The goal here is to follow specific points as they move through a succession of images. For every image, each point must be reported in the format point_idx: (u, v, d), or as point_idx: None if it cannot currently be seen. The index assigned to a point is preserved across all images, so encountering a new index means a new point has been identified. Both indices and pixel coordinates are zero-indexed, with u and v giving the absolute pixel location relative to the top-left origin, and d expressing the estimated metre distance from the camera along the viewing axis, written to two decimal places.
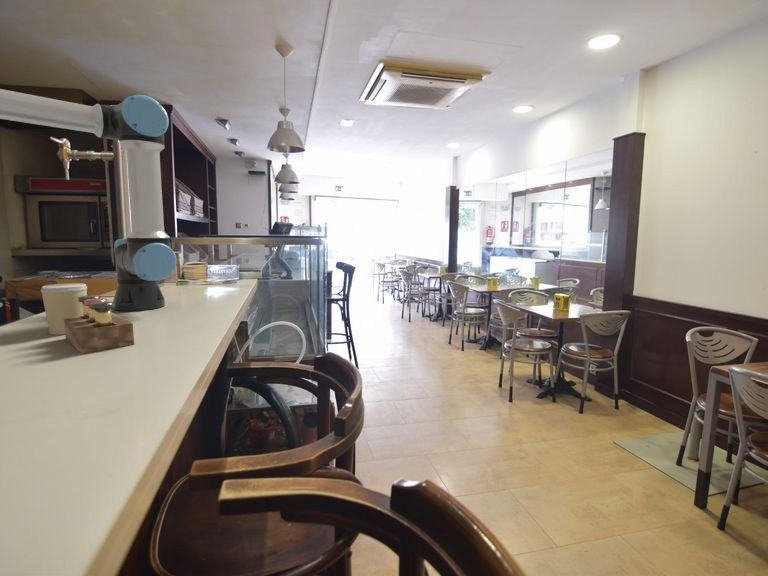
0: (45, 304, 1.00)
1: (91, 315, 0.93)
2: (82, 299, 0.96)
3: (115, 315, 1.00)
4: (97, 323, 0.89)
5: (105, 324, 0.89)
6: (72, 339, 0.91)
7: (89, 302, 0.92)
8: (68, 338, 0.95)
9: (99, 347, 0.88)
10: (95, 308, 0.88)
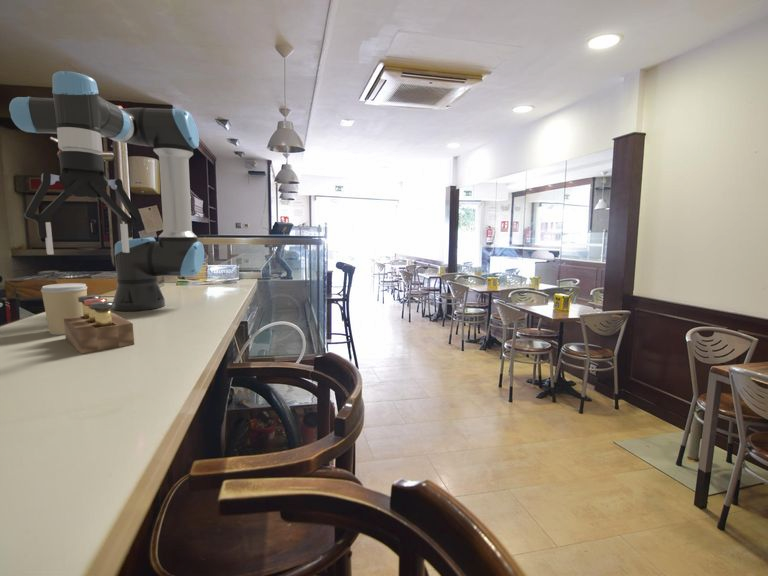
0: (45, 304, 1.00)
1: (91, 315, 0.93)
2: (82, 299, 0.96)
3: (115, 315, 1.00)
4: (97, 323, 0.89)
5: (105, 324, 0.89)
6: (72, 339, 0.91)
7: (89, 302, 0.92)
8: (68, 338, 0.95)
9: (99, 347, 0.88)
10: (95, 308, 0.88)
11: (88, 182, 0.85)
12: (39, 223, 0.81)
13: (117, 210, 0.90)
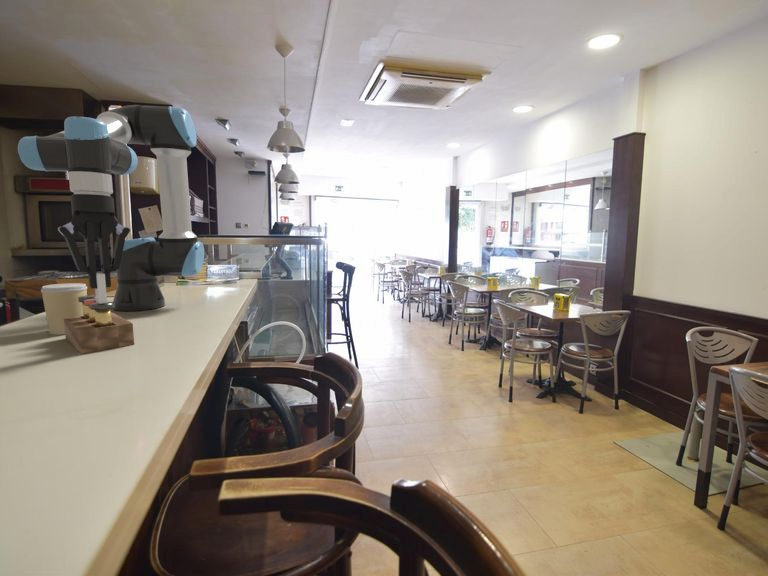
0: (45, 304, 1.00)
1: (91, 315, 0.93)
2: (82, 299, 0.96)
3: (115, 315, 1.00)
4: (97, 323, 0.89)
5: (105, 324, 0.89)
6: (72, 339, 0.91)
7: (89, 302, 0.92)
8: (68, 338, 0.95)
9: (99, 347, 0.88)
10: (95, 308, 0.88)
11: (101, 221, 0.87)
12: (90, 275, 0.87)
13: (104, 256, 0.88)
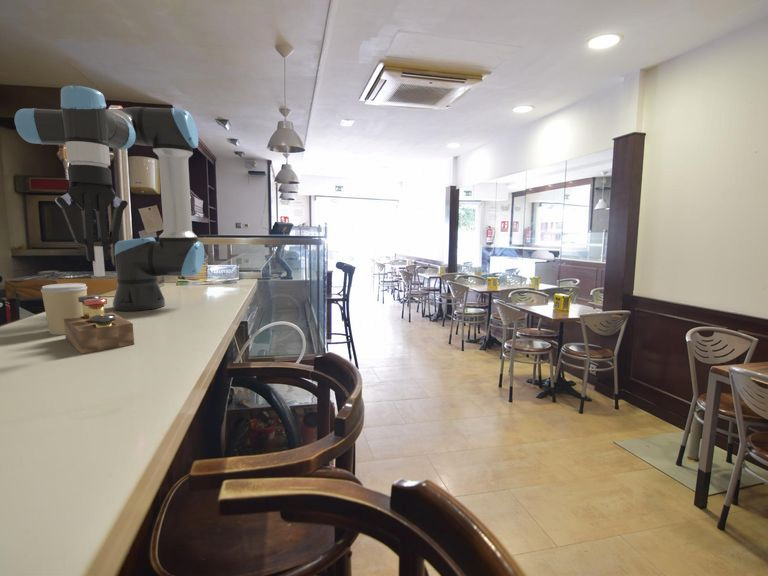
0: (45, 304, 1.00)
1: (91, 315, 0.93)
2: (82, 299, 0.96)
3: (115, 315, 1.00)
4: None
5: None
6: (72, 339, 0.91)
7: (89, 302, 0.92)
8: (68, 338, 0.95)
9: (99, 347, 0.88)
10: (96, 321, 0.88)
11: (98, 193, 0.86)
12: (88, 247, 0.86)
13: (102, 228, 0.87)
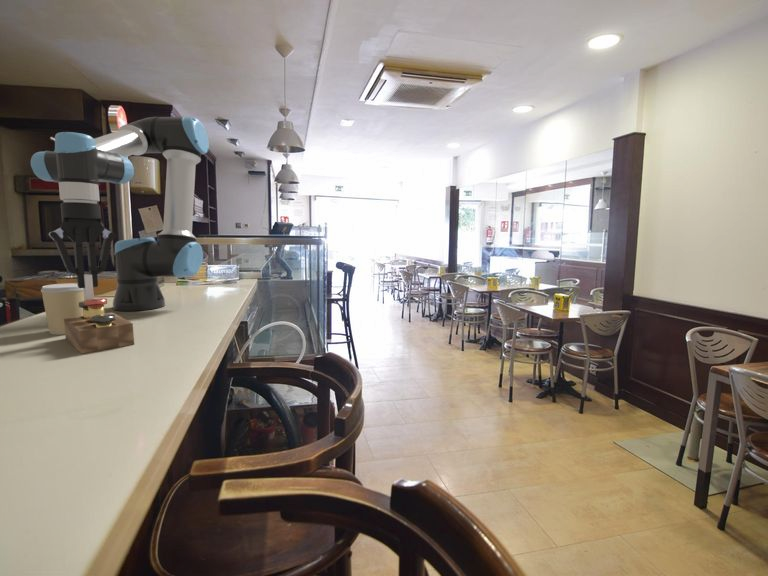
0: (45, 304, 1.00)
1: (91, 315, 0.93)
2: (83, 304, 0.96)
3: (115, 315, 1.00)
4: None
5: None
6: (72, 339, 0.91)
7: (89, 302, 0.92)
8: (68, 338, 0.95)
9: (99, 347, 0.88)
10: (96, 321, 0.88)
11: (88, 227, 0.95)
12: (79, 276, 0.95)
13: (91, 258, 0.96)
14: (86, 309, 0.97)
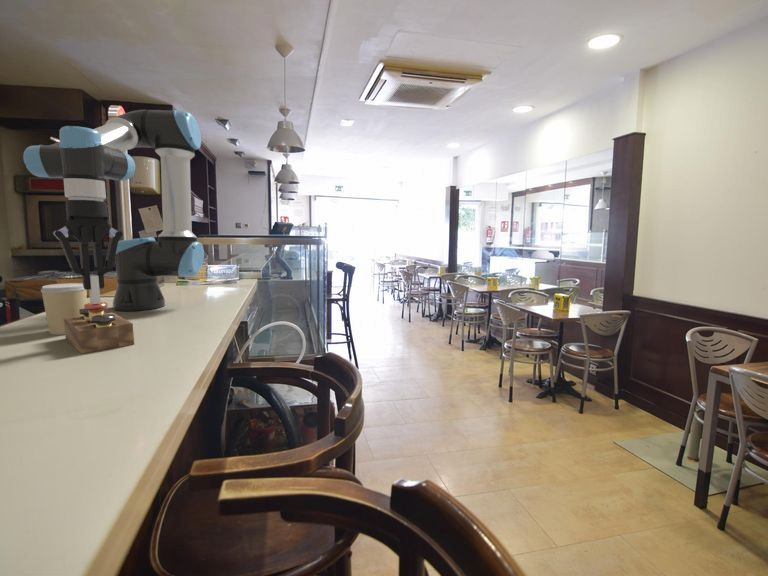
0: (45, 304, 1.00)
1: None
2: (83, 311, 0.96)
3: (115, 315, 1.00)
4: None
5: None
6: (72, 339, 0.91)
7: (90, 306, 0.92)
8: (68, 338, 0.95)
9: (99, 347, 0.88)
10: (96, 321, 0.88)
11: (94, 225, 0.91)
12: (85, 277, 0.91)
13: (98, 258, 0.92)
14: (87, 316, 0.97)
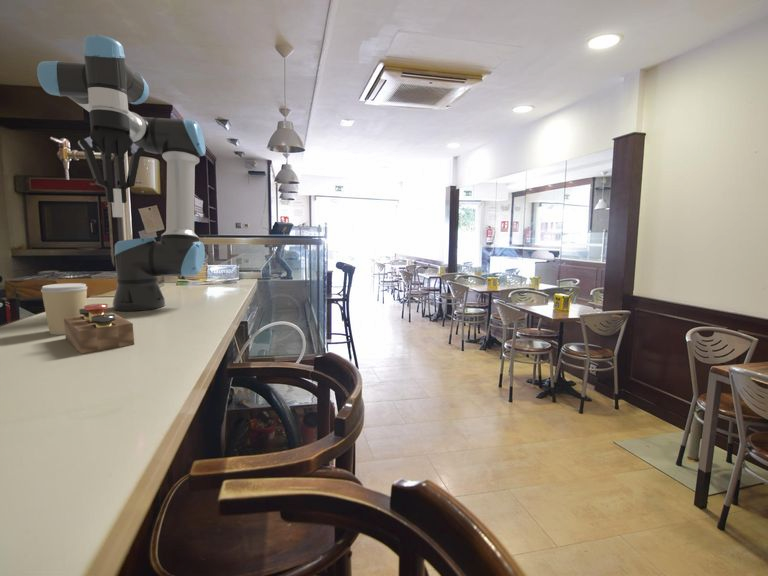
0: (45, 304, 1.00)
1: None
2: (83, 311, 0.96)
3: (115, 315, 1.00)
4: None
5: None
6: (72, 339, 0.91)
7: (90, 307, 0.92)
8: (68, 338, 0.95)
9: (99, 347, 0.88)
10: (96, 321, 0.88)
11: (117, 138, 0.93)
12: (108, 189, 0.93)
13: (120, 172, 0.94)
14: (87, 316, 0.97)
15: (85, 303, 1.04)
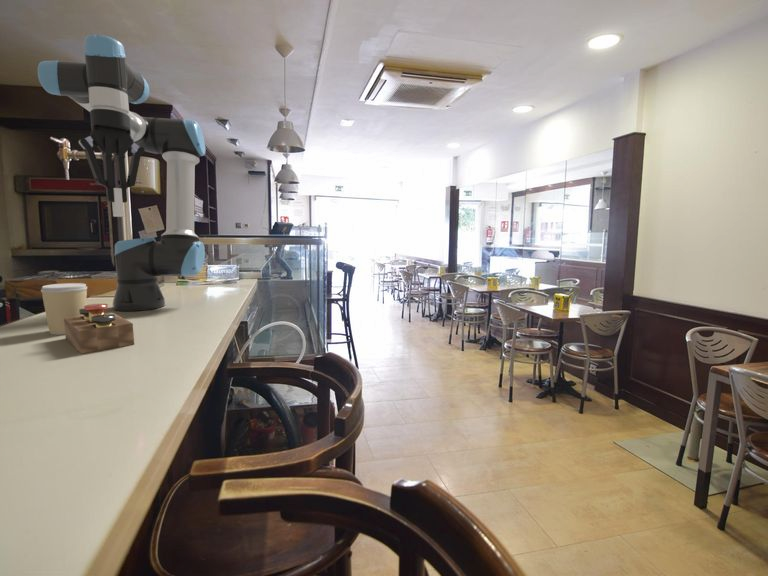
0: (45, 304, 1.00)
1: None
2: (83, 311, 0.96)
3: (115, 315, 1.00)
4: None
5: None
6: (72, 339, 0.91)
7: (90, 307, 0.92)
8: (68, 338, 0.95)
9: (99, 347, 0.88)
10: (96, 321, 0.88)
11: (118, 138, 0.93)
12: (108, 188, 0.93)
13: (121, 171, 0.94)
14: (87, 316, 0.97)
15: (85, 303, 1.04)
